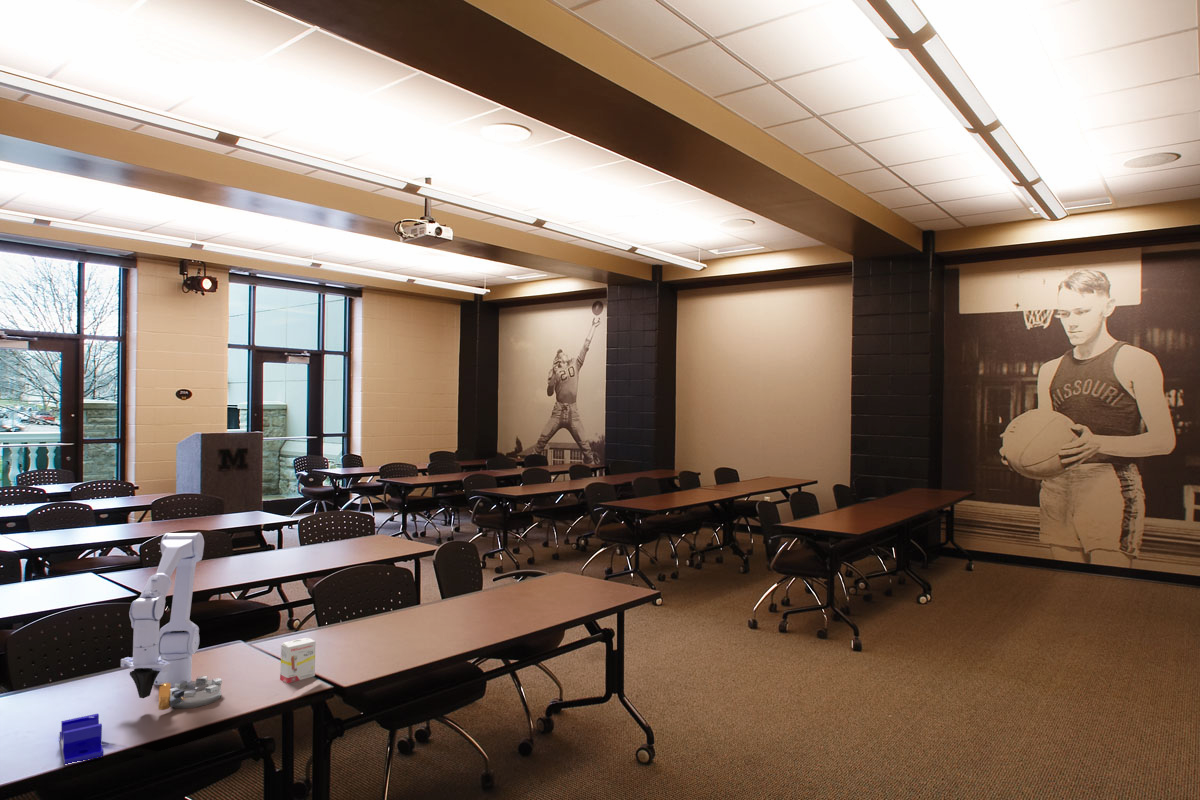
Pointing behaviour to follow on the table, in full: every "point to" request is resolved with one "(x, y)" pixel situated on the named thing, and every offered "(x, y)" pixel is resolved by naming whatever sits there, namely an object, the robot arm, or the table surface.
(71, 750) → the mounting bracket
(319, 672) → the table surface
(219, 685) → the grey toy battleship
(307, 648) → the ink box
